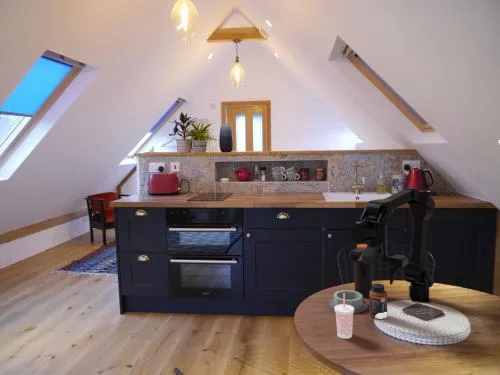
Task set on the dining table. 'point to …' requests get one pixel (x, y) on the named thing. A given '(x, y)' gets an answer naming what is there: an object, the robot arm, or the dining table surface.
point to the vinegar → (360, 283)
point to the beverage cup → (344, 319)
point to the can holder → (349, 300)
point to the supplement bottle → (377, 300)
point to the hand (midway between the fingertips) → (378, 281)
